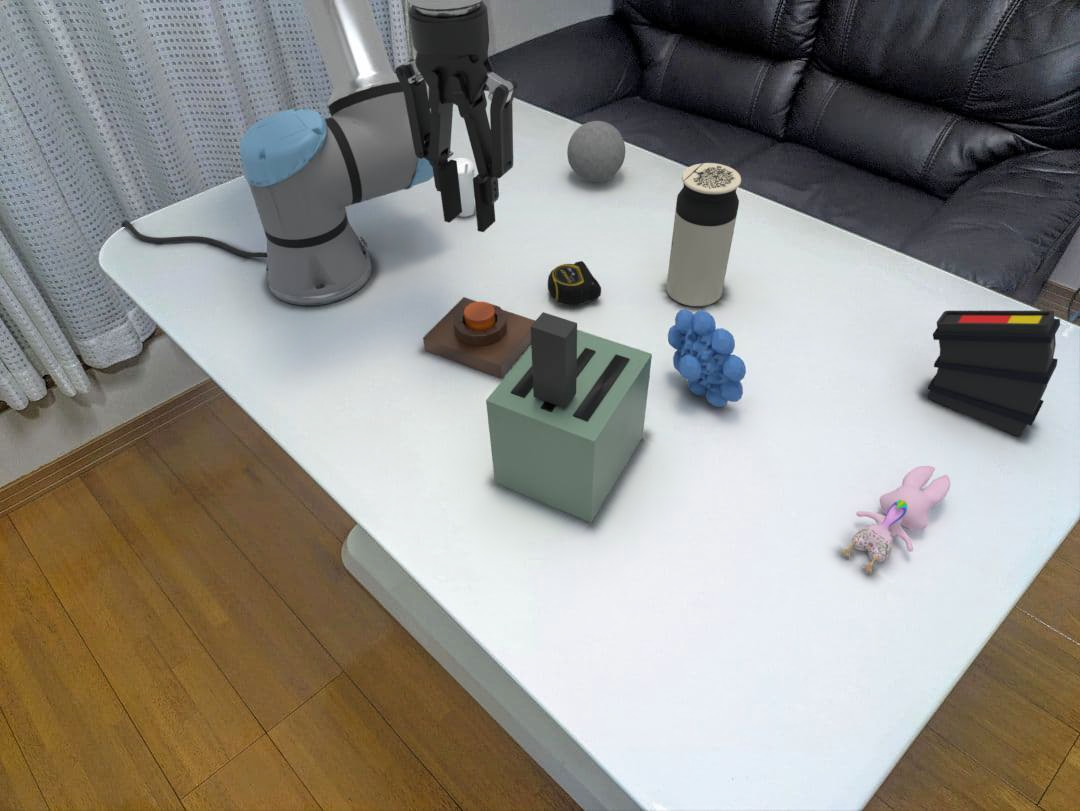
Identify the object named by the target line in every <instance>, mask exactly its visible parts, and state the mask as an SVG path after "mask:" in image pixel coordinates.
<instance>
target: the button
mask: <svg viewBox="0 0 1080 811" xmlns="http://www.w3.org/2000/svg"><path fill="white" fill-rule="evenodd" d="M489 303H490V302H486V301H477V302H474V303H471V304H469V305H468V306H467V307H466V308H465V310H464V317H465V324H466V326H467V327H468V328H470V329H473V330H485V329H487V328H490V327H492V326H493V325H494V323H495V310H494V307H493V306H492V305H491V304H492V303H490V304H489Z"/></svg>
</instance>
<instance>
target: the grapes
mask: <svg viewBox="0 0 1080 811" xmlns="http://www.w3.org/2000/svg"><path fill="white" fill-rule="evenodd" d="M674 317H675V318H674V323H675V324H673V325H672V326H671V327H670V328H669V329H668V332H667V341H668V344H669V345H670V347H671V348H673V349H674V350H675V351H674V353H673V356H672V365H673V368H674V369H675V370H676V371H677V372H679V374H680V376H681V377H682V378H684V379H685V380H686V381H687V387H688V390H689V392H691V393H692V394H693V395H696V396H698V397H706V401H707V402H708V403H709V404H711V405H712V406H713V407H716V408H723V407H725V406H726V405H727V404H728V402H731V403H733V402H734V403H737V402H739V401H740V400H741V399H742V397H743V394H744V387H743V383H742V382H741V381H742V380H743V379H745V376H746V374H747V370H746V363H745V362H744V360H743V359H742V358H741V357H740V356H738V355H736V354H733V353H734V350H735V348H736V344H735V343H736V341H735V340H736V339H735V338H734V335H733V334H732V333H731V332H730V331H729V330H727V329H725V328H722V327H721V328H716V326H717V325H716V320H715V318H714V316H713V315H712V314H711V313H710V312H708V311H705V310H697V311H696V312H695V313H693V312H692V311H691V310H688V309H680V310H679V311H678V312H676V314H675V316H674Z"/></svg>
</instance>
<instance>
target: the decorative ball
mask: <svg viewBox="0 0 1080 811" xmlns="http://www.w3.org/2000/svg"><path fill="white" fill-rule="evenodd" d="M566 149H567V151H566V153H567V161H568V164H569V166H570V168H571V169H572V171H573V172H574V174H575V175H576V176H578V177H579V178H580V179H582V180H584V181H586V182H591V183H601V182H605V181H607V180H609V179H612V178H613V177H614V176H615V175H616V174H617V173H618V172H619V171H620V170H621V168H622V166H623V164H624V161H625V157H626V144H625V140H624V138H623V136H622V134H621V132H620V131H619V129H617V128H616V127H615V126H614V125H612V124H611V123H609V122H607V121H604V120H603V121H602V120H592V121H588V122H586V123H584V124H582V125H580V126H579V127H578V128H576V130H574V132H573V133H572V135H571V136H570V138H569V141H568V144H567V148H566Z"/></svg>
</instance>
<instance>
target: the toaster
mask: <svg viewBox="0 0 1080 811" xmlns="http://www.w3.org/2000/svg"><path fill="white" fill-rule="evenodd" d="M527 349H528V350H526V351H525V353H524V354H523V355H522V357H521V358H520V359H519V360H518V361H517V363H516V364H515V365H514V366H513V368H511V369H510V371H508V373H507V374H506V376H505V377H504V378H503V379H502V381H500V383H499V384H497V386H496V388H495V389H494V390H493V391H492V392H491V394H490V395H489V396H488V397H487V398H486V400H485V402H486V403H485V405H486V413H487V414H486V415H487V422H488V432H489V442H490V450H491V459H492V469H493V470H492V471H493V479H494V483H496V484H498V485H501V486H503V487H505V488H508V489H510V490H512V491H515V492H516V493H520V494H521V495H524V496H527V497H528V498H531V499H533V500H536V501H537V502H541V503H543V504H545V505H547V506H550V507H553V508H555V509H557V510H559V511H561V512H564V513H567V514H569V515H571V516H573V517H576V518H578V519H580V520H583V521H586V522H588V523H592V522H593V521H594V519H595V517H596V516H597V514H598V513H599V511H600V509H601V507H602V506H603V504H604V502H605V500H606V499H607V498H608V496H609V494H610V492H611V490H612V489H613V487H614V485H615V484H616V482H617V481H618V479H619V478H620V475H621V474H622V472H623V471H624V469H625V467H626V465H627V464H628V463H629V461H630V459H631V457H632V456H633V454H634V452H635V451H636V449H637V447H638V446H639V444H640V442H641V440H642V439H643V438H644V428H645V421H646V411H647V403H648V402H647V401H648V394H649V385H650V376H651V368H652V360H653V358H652V357H653V353H651V352H648V351H644V350H641V349H638V348H635V347H632V346H630V345H626V344H623V343H619V342H617V341H613V340H610V339H608V338H604V337H601V336H598V335H595V334H592V333H589V332H586V331H583V330H580V329H577V377H576V395H575V396H574V397H573V399H572V400H571V402H570V403H569V404H568V406H567V407H566V408H562V407H559V406H557V405H554V404H551V403H549V402H546V401H543V400H540V399H538V398H535V397H533V373H532V349H531V346H530V347H529V348H527Z"/></svg>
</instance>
